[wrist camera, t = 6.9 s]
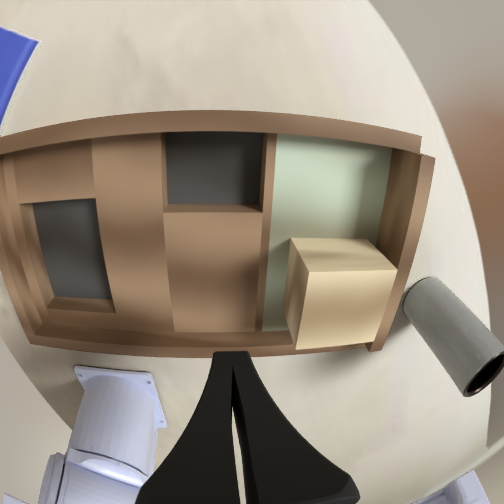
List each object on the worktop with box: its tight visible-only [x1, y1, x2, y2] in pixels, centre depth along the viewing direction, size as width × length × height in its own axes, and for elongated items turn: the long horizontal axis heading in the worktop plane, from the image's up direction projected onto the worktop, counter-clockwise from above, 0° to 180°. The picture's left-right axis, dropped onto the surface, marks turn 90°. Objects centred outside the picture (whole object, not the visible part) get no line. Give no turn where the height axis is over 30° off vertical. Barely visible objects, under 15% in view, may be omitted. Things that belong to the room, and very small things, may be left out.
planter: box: [403, 277, 504, 397], centre depth 19 cm, size 4×4×10 cm
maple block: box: [282, 238, 397, 350], centre depth 17 cm, size 5×5×4 cm
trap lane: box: [0, 110, 435, 358], centre depth 16 cm, size 15×26×5 cm, turn 87°
